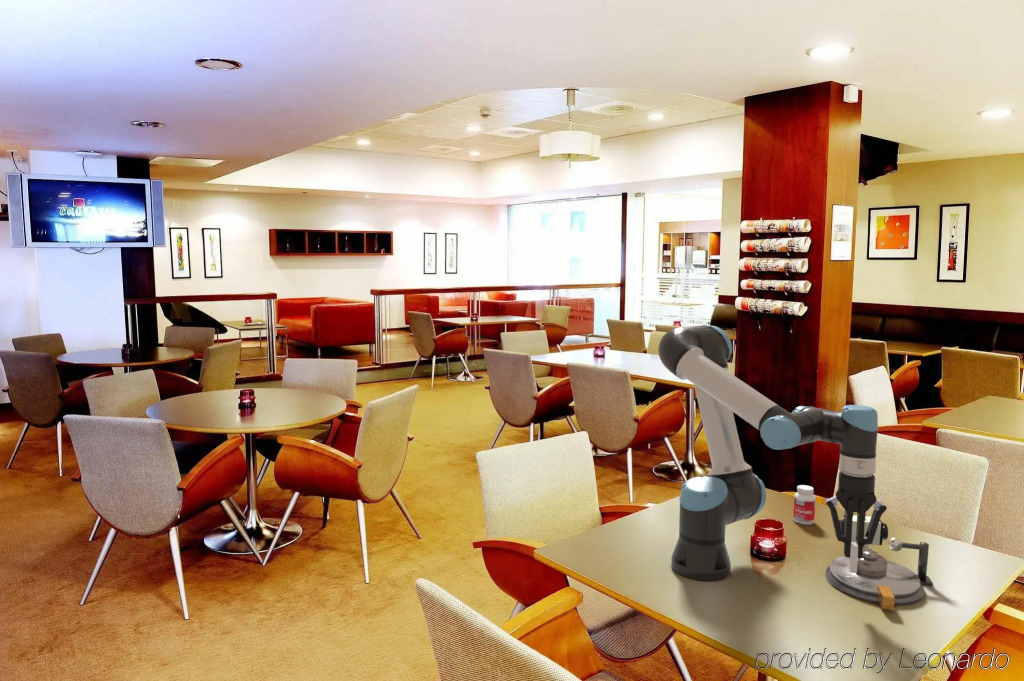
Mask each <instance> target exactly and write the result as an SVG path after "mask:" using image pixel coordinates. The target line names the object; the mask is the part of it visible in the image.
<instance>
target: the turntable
mask: <svg viewBox="0 0 1024 681" xmlns="http://www.w3.org/2000/svg"><path fill="white" fill-rule="evenodd" d="M829 566H830V573H831V575H832V577H833V578H834V579H835V580H836V581H838V582H839V583H841V584H842V585H844V586H846V587H848V588H851V589H853V590H856V591H858V592H862V593H865V594H869V595H874V596H877V598H878V601H879V603H880V604H879V603H878V604H879V605H880V607H881V609H883V610H890V611H894V610H895V605H894V601H895V598H905V597H910V596H913V595H915V594H917V593H918V592H919V590H920V579H919V577H918V576H917V574H916V573H915V572H914V571H913V570H911V569H909V568H907V567H906V566H903V565H901V564H899V563H896V562H894V561H890V560H887V572H886V577H884V578H880V579H873V578H867V577H863V576H860V575H858V574H856V573H850V572H849V570H848V557H845V555H843V556H838V557H836V558H834V559H832V560H831V562H830V564H829Z"/></svg>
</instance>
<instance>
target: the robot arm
mask: <svg viewBox="0 0 1024 681" xmlns="http://www.w3.org/2000/svg"><path fill="white" fill-rule="evenodd" d="M657 349H658V356H659V360H660V361H661V363H662V364H663V366H664V368H666V370H668V372H670V373H671V374H673V375H674V376H675V377H676V378H678V379H679V380H683V381H685V380H688V381H689V382H691V383H692V384H693V386H694V391H695V395H696V399H697V404H698V409H699V413H700V418H701V422H702V426H703V431H704V435H705V439H706V444H707V445H706V446H707V449H708V452H709V458H710V462H711V463H710V464H711V469H710V470H709V471H708V473H707V474H708V476H705V475H704V476H695V477H691V478H688V480H686V481H684V482H683V483H682V485H681V488H680V496H679V523H678V524H679V526H678V527H679V529H678V538H677V542H676V544H675V546H674V550H673V552H672V555H671V560H670V561H671V562H670V565H671V568H672V570H673V571H674V572H676V573H677V574H679V575H680V576H682V577H685V578H688V579H691V580H696V581H704V582H706V581H707V582H713V581H715V582H716V581H720V580H723V579H726V578H727V577H729V576H730V575H731V569H732V563H731V560H730V556H729V553H728V549H727V545H726V527H727V526H728V525H731V524H735V523H737V522H739V521H742V520H748V519H751V518H752V517H754V516H756V515H758V514H759V513H760V512H761V511H762V510H763V509H764V507H765V505H766V501H767V490H766V486H765V484H764V482H763V480H762V479H760V478H759V476H758V475H756V474H754V472H753V467H752V466H751V465H750V464H748V463H747V462H746V461H745V459H744V455H743V451H742V447H741V441H740V438H739V434H738V430H737V425H736V421H735V416H734V414H735V415H737V416H738V417H739V418H741V419H743V421H745V422H747V423H749V424H750V425H751V426H752V427H754V428H755V429H756V430H758V431H760V438H761V439H762V441H763V442H764V444H765V445H766V446H767V447H768V448H770V449H772V450H778V451H780V450H787V449H792V448H795V447H798V446H802V445H807V444H811V443H814V442H816V441H822V442H827V443H833V444H836V445H837V444H838V445H839V464H838V468H839V470H840V471H839V472H838V485H837V486H838V487H837V490H836V492H835V495H834V496H832V497H830V498H829V497H827V498H825V503H826V505H827V508H828V509H829V511H830V515H831V519H832V524H833V530H834V533H835V537H836V539H837V541H838V542H841V543H843V556H845V557H848V570H849V572H850V573H857V560H858V559H862V557H863V547H864V545H865V544H869V545H872V542H873V539H874V536H875V533H876V530H877V527H878V524H879V521H880V520H881V517H882V515H883V514H884V513H885V512H886V511H887V510H888V509H887V508H888V507H887V506H886V504H885V503H884V502H881V501H879V500H878V499H877V497H876V494H875V485H876V476H875V475H874V474H876V462H877V441H878V431H879V425H878V422H879V421H878V411H877V410H876V409H875V408H874V407H871V406H867V405H863V404H862V405H859V404H847V405H844V406H843V407H841V411H837V410H831V409H824V408H818V407H814V406H804V405H800V406H797V407H795V408H794V410H792V412H789V411H788V410H786V409H785V408H782V407H781V406H780V405H778V404H777V403H775V402H774V401H772V400H771V399H769V398H768V397H767V396H764V394H762V393H760V392H759V391H758V390H756V389H755V388H753V387H751V386H750V385H749V384H747V383H746V382H744V381H743V380H741V379H739V378H738V377H737V376H735V375H734V374H732V373H731V372H729V365H728V361H729V360H730V359H731V355H732V353H733V352H732V351H733V346H732V341H731V339H730V337H729V335H728V334H727V332H726V331H725V330H723V329H721V328H720V327H719V326H715V325H707V324H706V325H705V324H703V325H702V324H701V325H694V326H693V325H692V326H685V327H684V326H682V327H681V326H680V327H675V328H672V329H670V330H668V331H667V332H665V334H663V335H662V337H661V339H660V341H659V343H658V348H657ZM838 502H839V504H840V505H841V507H842V508H843V509H844V515H845V527H844V535H842V532H841V527H840V523H839V520H840V519H839V514H838V510H837V507H838ZM871 507H873V511H872V514H871V516H870V517H871V520H870V522H869V525H868V528H867V531H866V534H865V537H864V526H865V516H867V515H866V513H867V512H868V510H869V511H870V508H871ZM854 513H856V515H857V528H856V542H851V540H852V520H853V515H854Z"/></svg>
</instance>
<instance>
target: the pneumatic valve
mask: <svg viewBox="0 0 1024 681" xmlns="http://www.w3.org/2000/svg"><path fill="white" fill-rule="evenodd" d="M871 517H872V516H869V515H865V526H864V537H865V534H866V531H867V528H868V525H869V522H870V520H871ZM839 523H840V527H841V532H842V535H844V527H845V514H843V517H842V518H841V519H839ZM856 528H857V514H856V515H854V514H853V520H852V540H851V542H856ZM888 537H889V527H888V525H887V523H885V522H883V521H882V520H881V519H880V521H879V524H878V527H877V530H876V533H875V536H874V539H873V542H872V544H871V545H874V546H875V545H876V546H882V545H883V542H884V540H885V541H887V540H888V539H889V538H888ZM869 546H870V544H865V545H864V547H863V550H872V551H873V548H872V547H871V546H870V547H869Z"/></svg>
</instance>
